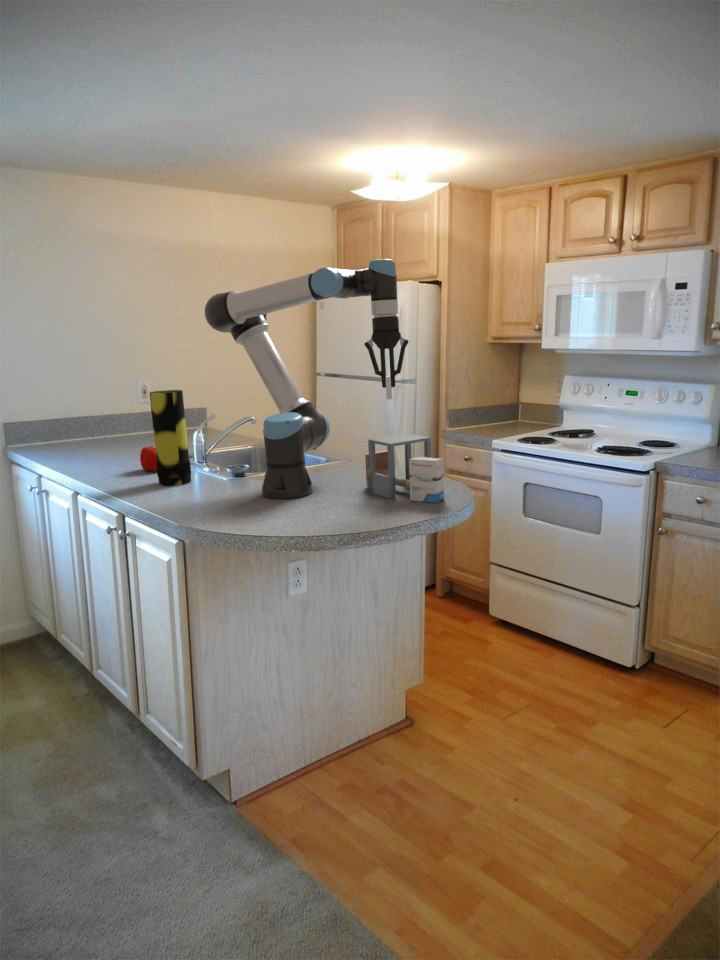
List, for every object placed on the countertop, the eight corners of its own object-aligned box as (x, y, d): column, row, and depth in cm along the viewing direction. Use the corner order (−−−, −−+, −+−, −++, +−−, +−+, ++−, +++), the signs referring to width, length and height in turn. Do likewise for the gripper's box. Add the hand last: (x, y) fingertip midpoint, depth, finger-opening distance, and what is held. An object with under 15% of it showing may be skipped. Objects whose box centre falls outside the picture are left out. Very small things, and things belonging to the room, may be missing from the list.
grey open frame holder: (370, 492, 208) (368, 439, 205) (408, 484, 216) (407, 433, 212) (392, 498, 199) (390, 443, 196) (431, 490, 207) (430, 437, 203)
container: (195, 478, 237) (186, 389, 231) (188, 485, 227) (179, 392, 220) (163, 479, 237) (153, 390, 231) (154, 487, 227) (144, 394, 220)
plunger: (366, 486, 214) (365, 454, 212) (390, 481, 219) (389, 450, 217) (405, 498, 198) (404, 463, 196) (430, 492, 203) (429, 458, 201)
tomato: (171, 466, 261) (168, 442, 259) (173, 472, 249) (170, 447, 247) (141, 469, 257) (138, 444, 255) (142, 475, 246) (139, 450, 244)
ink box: (444, 499, 196) (444, 457, 194) (436, 503, 192) (435, 461, 190) (418, 496, 201) (417, 455, 198) (409, 500, 197) (408, 458, 194)
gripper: (408, 314, 204) (411, 396, 209) (363, 317, 205) (368, 398, 210) (407, 314, 196) (411, 399, 201) (361, 317, 198) (366, 401, 203)
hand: (389, 398), depth 206 cm, fingers closed
